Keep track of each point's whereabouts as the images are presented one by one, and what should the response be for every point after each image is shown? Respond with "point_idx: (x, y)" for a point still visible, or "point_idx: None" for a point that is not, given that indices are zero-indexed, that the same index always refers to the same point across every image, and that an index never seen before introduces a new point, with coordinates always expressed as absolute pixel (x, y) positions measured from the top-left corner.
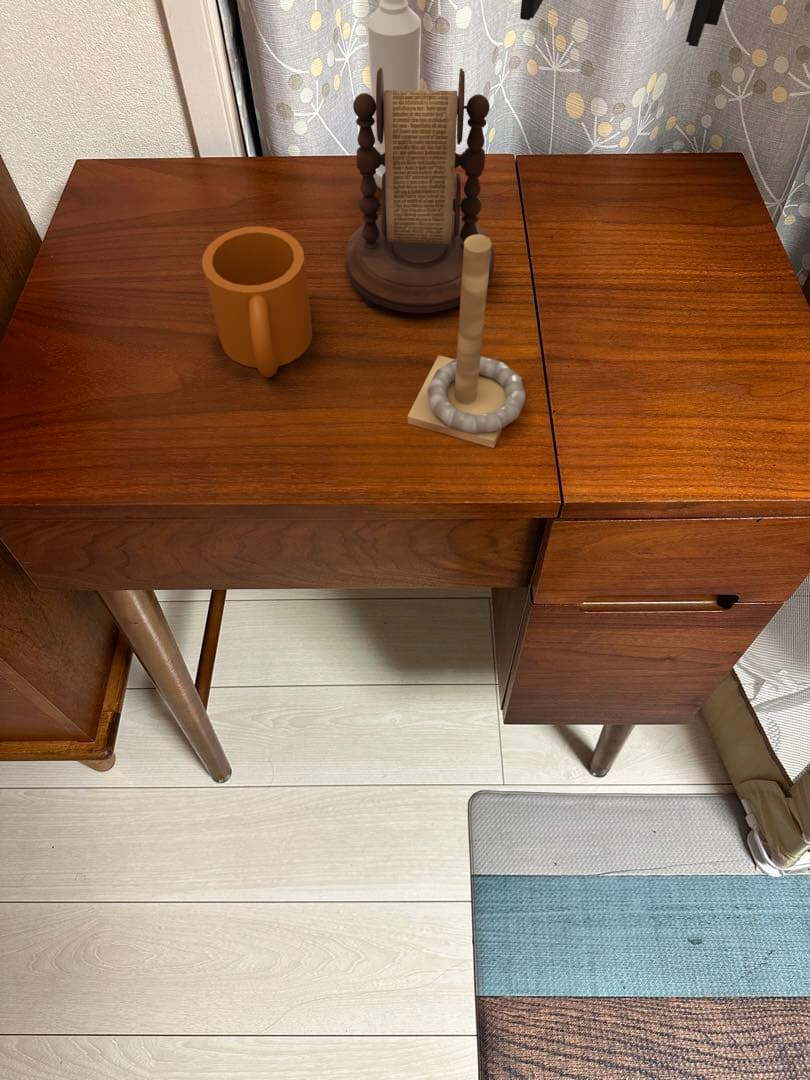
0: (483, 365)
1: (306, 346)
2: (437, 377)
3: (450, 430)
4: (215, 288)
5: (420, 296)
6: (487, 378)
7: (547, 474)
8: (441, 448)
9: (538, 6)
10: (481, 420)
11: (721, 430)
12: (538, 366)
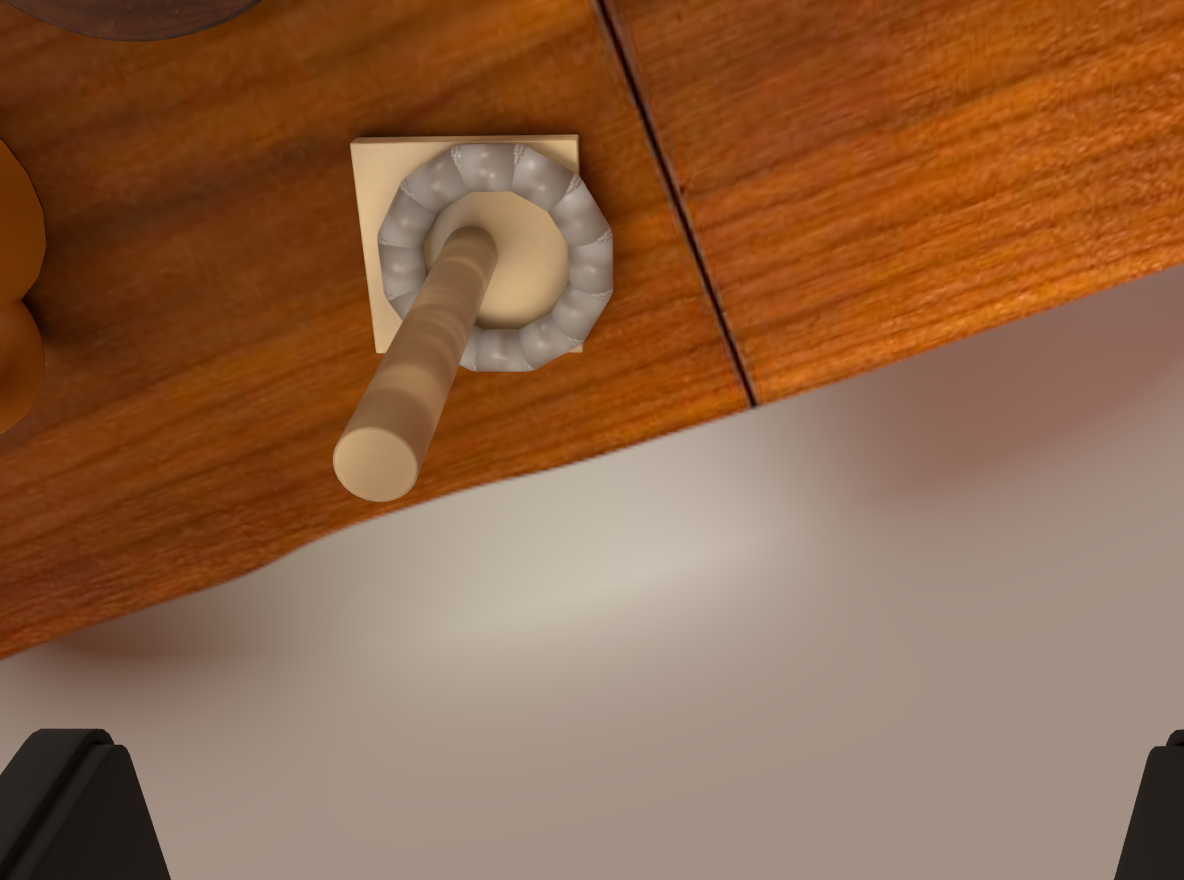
0: (478, 186)
1: (39, 219)
2: (392, 272)
3: None
4: None
5: (202, 2)
6: None
7: (713, 366)
8: (479, 378)
9: (154, 857)
10: (540, 358)
11: (1100, 95)
12: (602, 48)
